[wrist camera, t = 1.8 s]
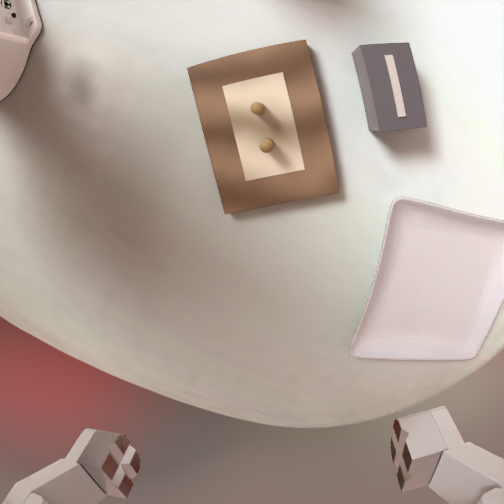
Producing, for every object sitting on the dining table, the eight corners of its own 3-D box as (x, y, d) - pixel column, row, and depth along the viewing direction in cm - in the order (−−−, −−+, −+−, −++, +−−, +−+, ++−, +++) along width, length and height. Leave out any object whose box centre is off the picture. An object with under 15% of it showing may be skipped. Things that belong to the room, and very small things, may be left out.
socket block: (351, 53, 26) (360, 44, 23) (396, 50, 26) (409, 42, 22) (369, 130, 30) (379, 131, 26) (412, 125, 29) (427, 127, 25)
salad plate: (467, 347, 39) (475, 361, 36) (343, 342, 41) (346, 359, 38) (518, 218, 31) (532, 227, 28) (383, 187, 32) (392, 194, 29)
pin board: (191, 69, 29) (178, 64, 25) (305, 43, 27) (307, 32, 23) (227, 210, 35) (219, 222, 31) (337, 190, 33) (343, 199, 29)
